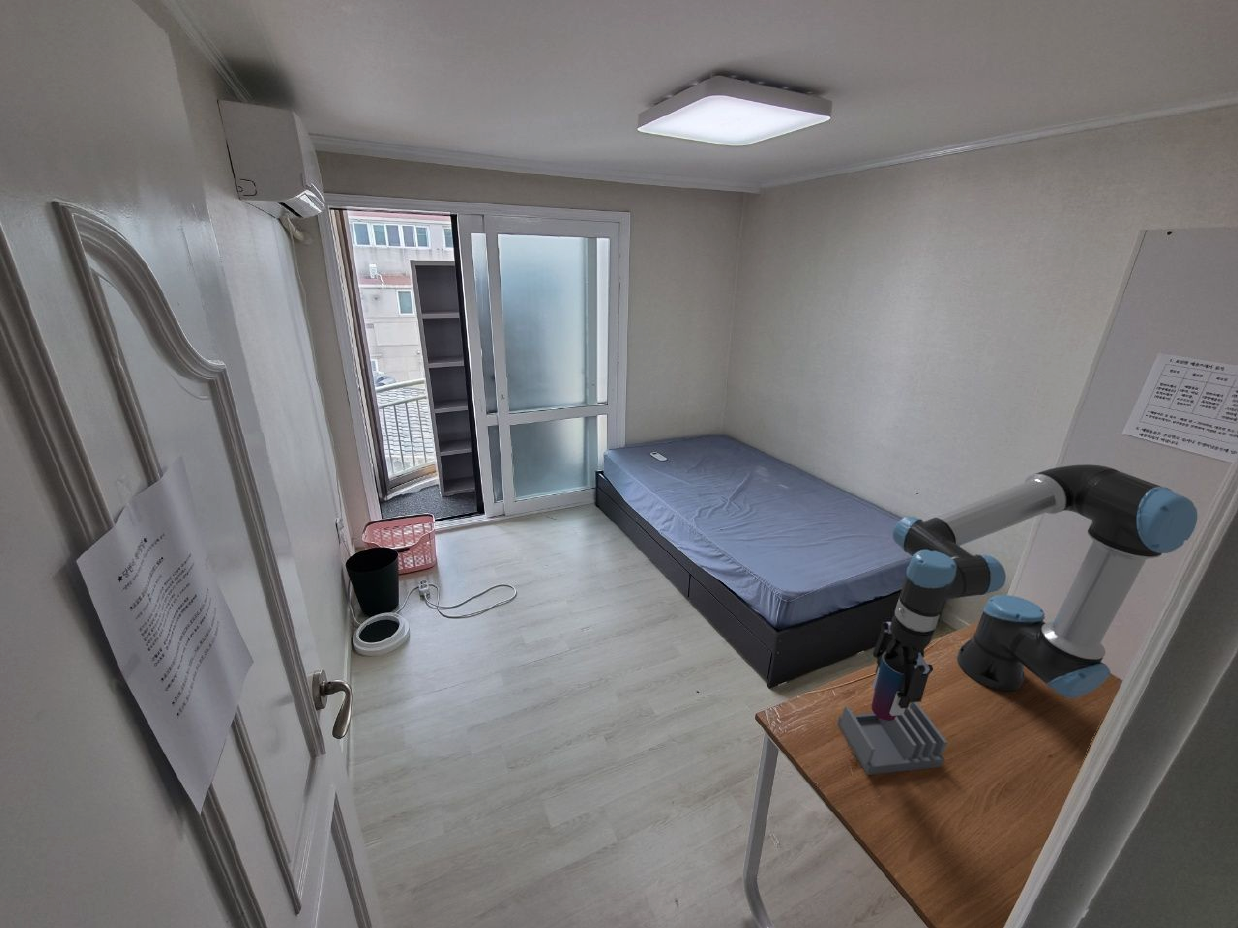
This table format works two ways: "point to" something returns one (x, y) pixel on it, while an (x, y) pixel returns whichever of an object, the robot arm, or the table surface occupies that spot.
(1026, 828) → the table surface
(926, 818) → the table surface
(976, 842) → the table surface
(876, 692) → the cup
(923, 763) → the rack
